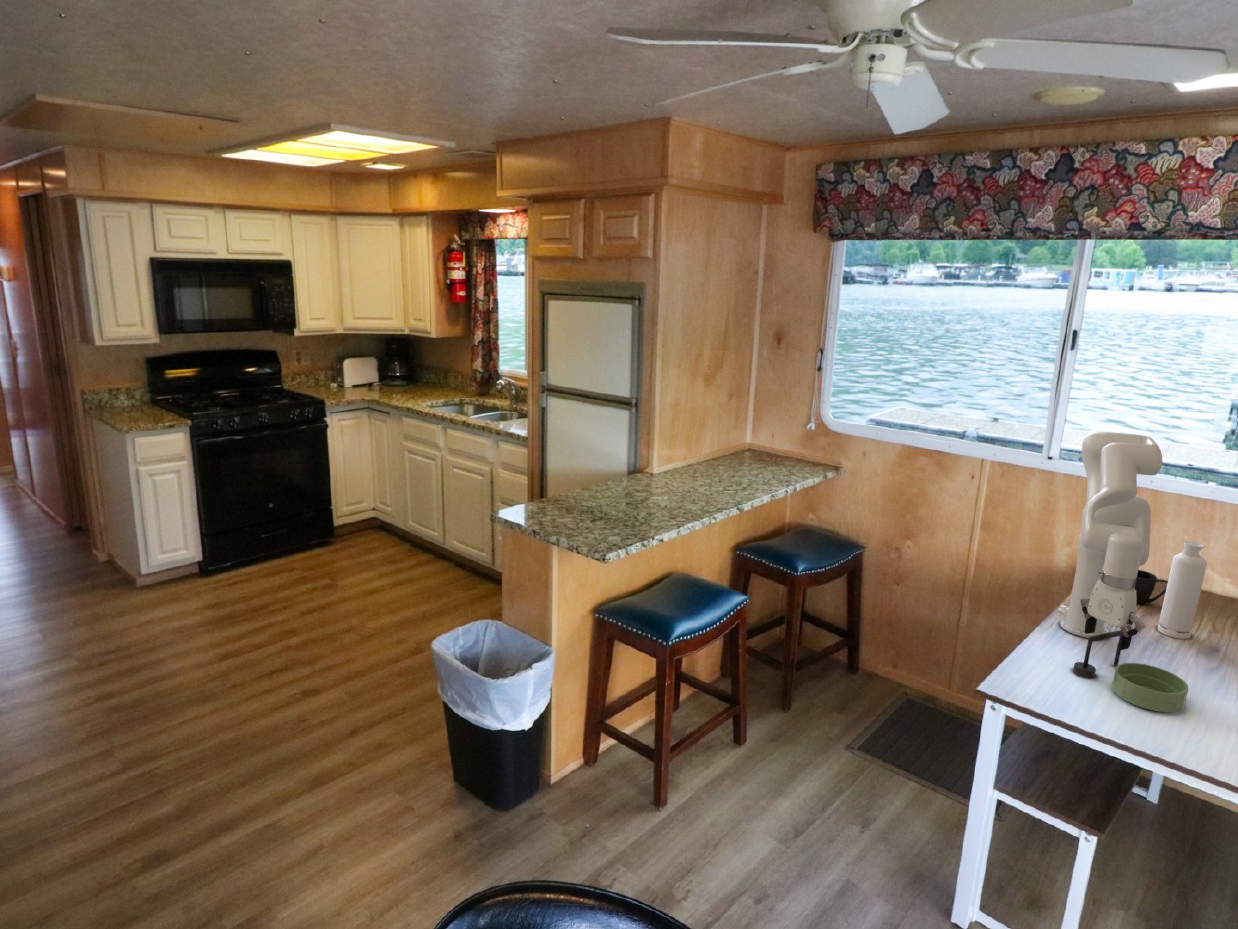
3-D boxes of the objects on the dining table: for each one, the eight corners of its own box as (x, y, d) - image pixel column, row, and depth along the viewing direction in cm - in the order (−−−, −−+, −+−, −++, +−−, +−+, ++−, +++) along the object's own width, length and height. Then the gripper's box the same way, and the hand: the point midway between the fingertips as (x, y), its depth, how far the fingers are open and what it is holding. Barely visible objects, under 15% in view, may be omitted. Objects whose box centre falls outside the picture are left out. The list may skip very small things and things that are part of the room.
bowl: (1097, 687, 200) (1101, 668, 199) (1138, 677, 206) (1142, 659, 204) (1156, 719, 186) (1160, 698, 185) (1198, 708, 192) (1202, 688, 191)
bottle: (1160, 623, 238) (1180, 537, 231) (1192, 633, 233) (1213, 544, 226) (1154, 631, 233) (1174, 543, 226) (1186, 641, 227) (1208, 551, 220)
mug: (1164, 612, 247) (1170, 584, 244) (1119, 601, 254) (1125, 574, 251) (1165, 603, 253) (1171, 576, 251) (1122, 593, 260) (1127, 567, 258)
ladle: (1108, 661, 214) (1115, 625, 211) (1125, 670, 209) (1133, 634, 207) (1068, 670, 208) (1075, 633, 206) (1085, 679, 204) (1093, 642, 201)
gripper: (1077, 570, 209) (1066, 628, 213) (1140, 595, 194) (1127, 658, 198) (1097, 567, 212) (1086, 625, 216) (1160, 591, 196) (1147, 653, 200)
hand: (1105, 640), depth 207 cm, fingers open, 9 cm apart
